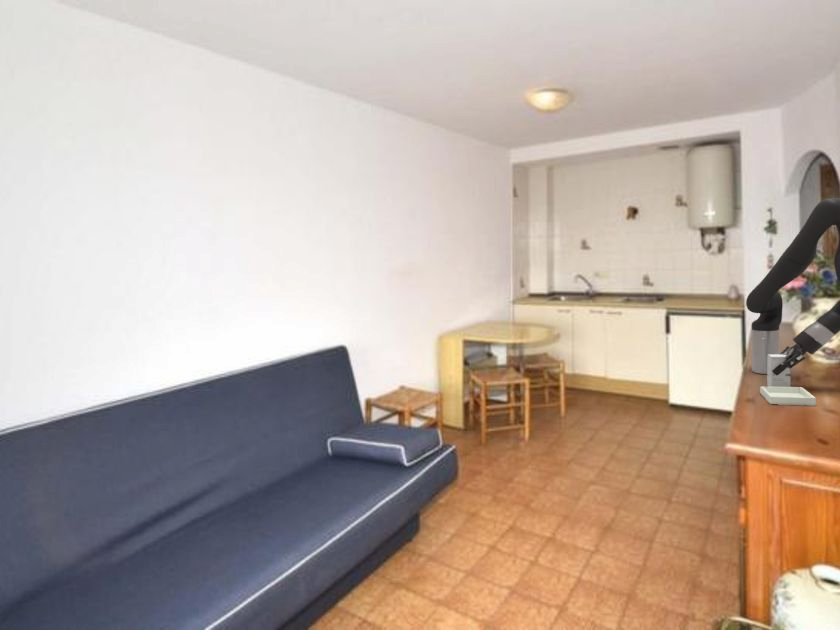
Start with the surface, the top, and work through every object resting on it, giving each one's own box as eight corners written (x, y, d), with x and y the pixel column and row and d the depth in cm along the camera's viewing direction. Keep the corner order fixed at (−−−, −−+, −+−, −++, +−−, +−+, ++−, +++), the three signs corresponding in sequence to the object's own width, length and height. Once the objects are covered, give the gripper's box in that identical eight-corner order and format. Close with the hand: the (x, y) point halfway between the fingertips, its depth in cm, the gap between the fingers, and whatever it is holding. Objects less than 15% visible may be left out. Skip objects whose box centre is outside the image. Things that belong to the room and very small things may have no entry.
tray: (760, 393, 179) (760, 386, 179) (801, 394, 175) (801, 387, 175) (770, 404, 166) (770, 396, 166) (815, 405, 162) (815, 398, 162)
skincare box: (771, 390, 182) (770, 356, 181) (766, 387, 186) (766, 354, 185) (791, 390, 180) (791, 356, 179) (786, 387, 184) (786, 353, 183)
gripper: (797, 327, 185) (758, 360, 191) (811, 333, 172) (768, 368, 177) (815, 341, 184) (775, 375, 189) (830, 348, 170) (787, 384, 176)
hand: (772, 371), depth 183 cm, fingers closed on skincare box, 4 cm apart
